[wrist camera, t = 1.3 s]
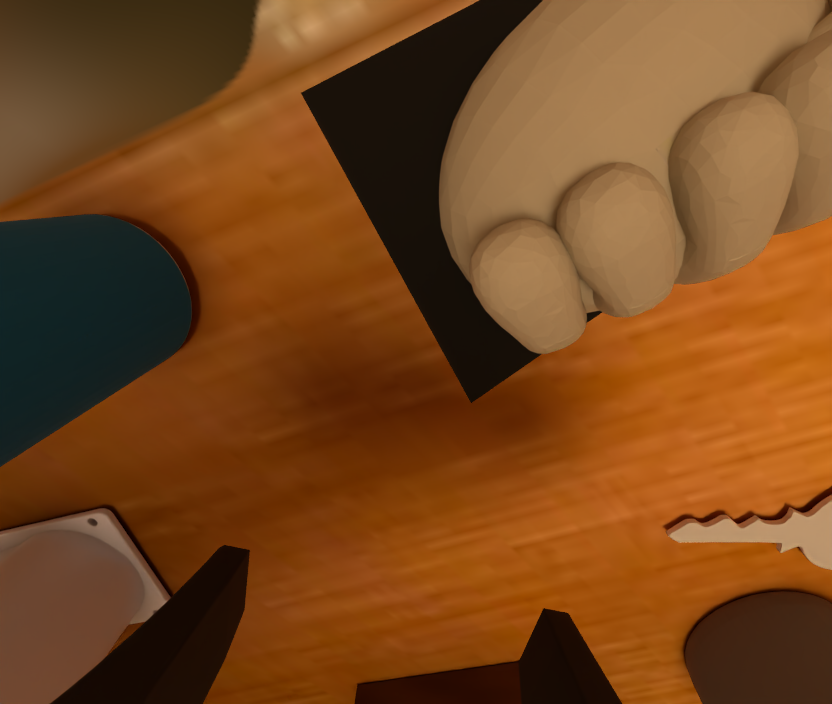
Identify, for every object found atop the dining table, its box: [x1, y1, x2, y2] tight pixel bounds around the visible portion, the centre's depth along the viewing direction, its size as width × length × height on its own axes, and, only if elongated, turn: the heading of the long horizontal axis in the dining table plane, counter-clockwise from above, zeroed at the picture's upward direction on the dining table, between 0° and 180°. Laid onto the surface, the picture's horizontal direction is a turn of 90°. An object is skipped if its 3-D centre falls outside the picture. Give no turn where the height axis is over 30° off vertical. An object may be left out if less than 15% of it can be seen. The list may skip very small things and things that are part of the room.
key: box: [666, 495, 832, 570], centre depth 21 cm, size 11×1×5 cm
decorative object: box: [301, 0, 832, 403], centre depth 11 cm, size 13×10×10 cm
